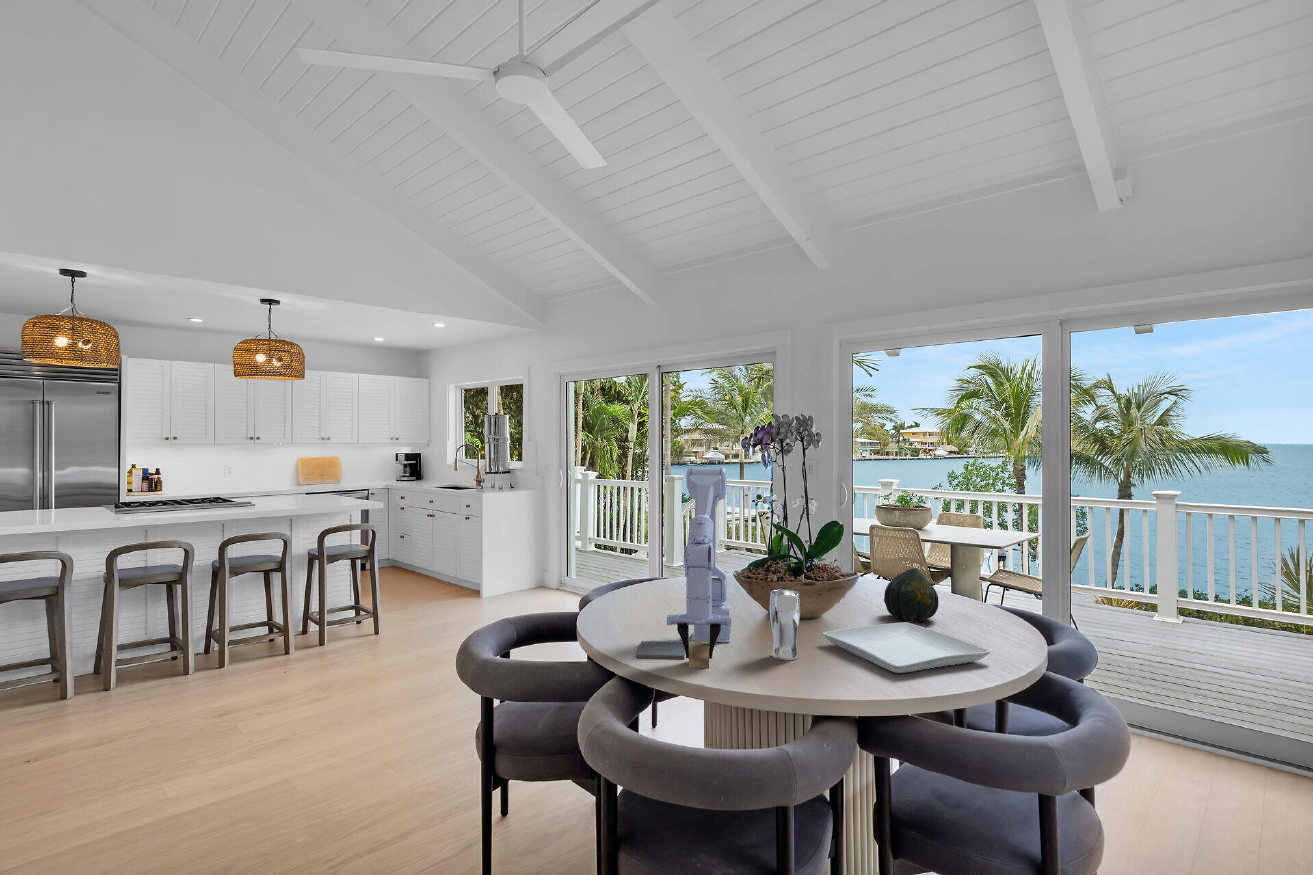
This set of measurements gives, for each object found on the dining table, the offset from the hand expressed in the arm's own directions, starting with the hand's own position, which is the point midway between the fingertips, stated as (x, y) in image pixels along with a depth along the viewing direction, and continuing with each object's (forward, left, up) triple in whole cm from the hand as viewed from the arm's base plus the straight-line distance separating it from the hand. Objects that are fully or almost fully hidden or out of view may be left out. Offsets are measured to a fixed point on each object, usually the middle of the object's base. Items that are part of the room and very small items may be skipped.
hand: (699, 657), depth 150 cm
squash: (-60, -45, -2) cm, 75 cm away
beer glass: (-20, -7, -2) cm, 21 cm away
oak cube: (0, 0, -2) cm, 2 cm away
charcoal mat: (+9, -9, -2) cm, 13 cm away
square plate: (-48, -11, -2) cm, 49 cm away
